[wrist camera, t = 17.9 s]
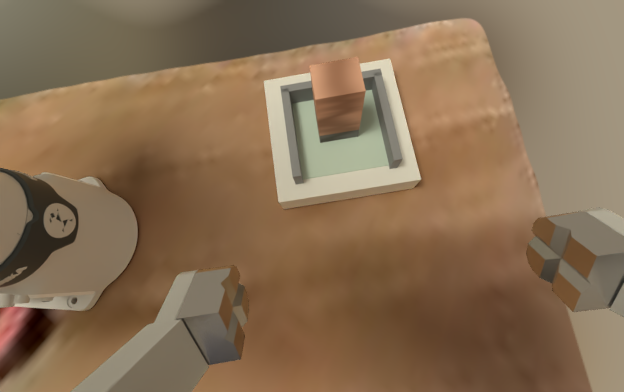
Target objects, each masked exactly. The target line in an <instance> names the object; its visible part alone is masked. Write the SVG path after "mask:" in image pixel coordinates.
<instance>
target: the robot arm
mask: <svg viewBox="0 0 624 392" xmlns="http://www.w3.org/2000/svg"><path fill="white" fill-rule="evenodd" d="M532 232H533V233H534V235H535V237H534V238H533V239H532V240H531V241H530V242H529V243H528V246H527V251H526V255H527V259H528V263H529V265H530V267H531V268H532V270H533V271H534V272H535V273H536V274H537V276H538V277H539V278H541V279H544V280H546V281H548V282H550V283H552V291H553V292H554V293H555V294H556V295H557V296H558V297H559V298H560V299H561V300H562V301H563V302H564V303H565V304H566V305H567V306H568V307H569V308H570V309H571V310H572V311H573V312H578V311H587V310H596V309H605V308H610V310H611V311H613V312H615V313H617V314H619V315H621V316H622V317H624V219H623V218H622V217H620V216H618V215H616V214H615V213H613V212H611V211H610V210H608V209H603V208H593V209H587V210H582V211H578V212H572V213H566V214H559V215H553V216H547V217H541V218H538V219H537V220H536V221H535V222H534V224H533V227H532ZM137 237H138V227H137V221H136V217H135V214H134V212H133V210H132V209H131V207H130V206H129V204H128V203H127V202H126V201H125V200H124V199H122V198H121V197H119V196H118V195H116V194H113V193H111V192H110V191H108V190H107V189H106V187H105V186H104V184H103V183H102V182H101V181H100V180H99V179H98V178H95V177H91V176H88V177H85V178H82V179H79V180H75V179H71V178H68V177H64V176H60V175H57V174H53V173H48V172H43V173H41V174H40V175H35V176H30V175H28V174H25V173H22V172H19V171H13V170H8V169H3V168H0V308H1V307H13V306H14V307H29V308H45V309H60V310H75V311H86V310H89V309H91V308H92V307H93V306H94V305H95V303H96V302H97V300H98V299H99V297H100V295H101V293H102V292H103V290H104V289H105V288H106V287H107V286H108V285H109V284H110V283H111V282H113V281H114V280H115V279H116V278H117V277H118V276H119V275H120V274H121V273H122V272H123V271H124V269H125V268H126V267H127V265H128V263H129V262H130V260H131V258H132V256H133V253H134V251H135V248H136V244H137ZM239 279H240V273H239V271H238V269H237V267H236V266H234V265H231V266H223V267H215V268H208V269H200V270H195V271H188V272H181V273H180V274H178V275H177V276H176V278H175V280H174V282H173V284H172V287H171V289H170V291H169V293H168V295H167V297H166V299H165V301H164V303H163V305H162V307H161V309H160V311H159V313H158V315H157V318H156V320H155V322H154V323H152V324H148V325H146V326H145V327H144V328H143V329H142V330H141V331H140V332H138V333H137V334H136V335H135V336H134V337H133V338H131V339H130V340H129V341H128V342H127V343H126V344H125V345H123V346H122V347H121V348H120V349H119V350H118V351H117V352H115V353H114V354H113V355H112V356H111V357H110V358H109V359H107V360H106V361H105V362H104V363H103V364H102V365H101V366H99V367H98V368H97V369H96V370H95V371H94V372H93V373H91V374H90V375H89V376H88V377H87V378H86V379H84V380H83V381H82V382H81V383H80V384H79V385H78V386H76V387H75V388H74V389H73V390H72V391H71V392H192V390H193V389H194V388H195V386H196V385H197V383H198V382H199V380H200V379H201V378H202V376H203V375H204V373H205V372H206V370H207V369H208V368H209V366H208V365H212V364H217V363H223V362H229V361H235V360H241V356H242V351H243V345H244V339H245V334H244V332H243V330H242V327H243V326H244V324H245V323H246V322H247V321H248V314H249V300H248V295H247V292H246V289H245V287H244V286H243V285H241V284H240V283H239ZM76 299H77V303H76Z"/></svg>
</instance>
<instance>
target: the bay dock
mask: <svg viewBox="0 0 624 392" xmlns="http://www.w3.org/2000/svg"><path fill="white" fill-rule="evenodd" d="M360 68H361V72H362V77H363V81H364V85H365V90H366V92H365V98H364V104H363V110H362V116H361V122H360V128H359V134H358V137H353V138H347V139H341V140H335V141H329V142H323V143H320V139H319V133H318V127H317V121H316V114H315V106H314V99H313V91H312V83H311V75H310V73H306V74H300V75H295V76H289V77H283V78H278V79H272V80H266V81H264V87H265V95H266V103H267V112H268V120H269V128H270V136H271V145H272V153H273V161H274V170H275V178H276V186H277V195H278V203H279V204H280V205H281V206H282V208H283V209H289V208H295V207H301V206H307V205H313V204H320V203H326V202H332V201H338V200H345V199H351V198H357V197H363V196H369V195H376V194H382V193H388V192H394V191H400V190H407V189H413V188H414V187H415V186H416V185H417V184H418V182H419V181H420V180H421V177H420V173H419V169H418V165H417V162H416V158H415V154H414V150H413V146H412V142H411V138H410V134H409V130H408V127H407V123H406V119H405V115H404V111H403V107H402V103H401V99H400V95H399V91H398V88H397V84H396V80H395V76H394V72H393V68H392V64H391V60H390V59H385V60H379V61H373V62H368V63H362V64H360Z"/></svg>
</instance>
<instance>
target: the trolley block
mask: <svg viewBox="0 0 624 392" xmlns="http://www.w3.org/2000/svg"><path fill="white" fill-rule="evenodd" d="M309 67H310V75H311V83H312V91H313V99H314V106H315V114H316V121H317V127H318V133H319V139H320V143H323V142H329V141H335V140H341V139H347V138H353V137H358V134H359V128H360V122H361V116H362V110H363V104H364V98H365V92H366V90H365V85H364V81H363V77H362V72H361V68H360V63H359V59H358V57H354V58H349V59H343V60H338V61H332V62H326V63H321V64H315V65H310V66H309Z"/></svg>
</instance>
